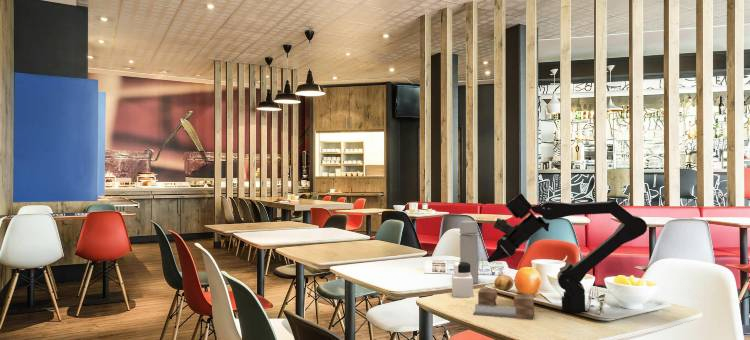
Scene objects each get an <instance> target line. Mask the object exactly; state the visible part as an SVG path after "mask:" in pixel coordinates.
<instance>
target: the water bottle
mask: <svg viewBox="0 0 750 340" xmlns="http://www.w3.org/2000/svg"><path fill="white" fill-rule="evenodd" d="M459 226H460V227H459V234H460V235H459V254H460V255H459V258H460V261H459V262H467V263H469V264H470V272H471V275H472V278H473V285H474V284H478V283H479V271H480V272H483V269H484V265H482V268H481V269H480V268H479V267H480V261H479V249H482V248H481V244H479V241H480V240H481V239H480V237H481V233H478V232H479V231H478V229H479V228H478V222H477V221H476V220H462V221H460V225H459ZM480 254H481V256H483V254H482V252H480ZM481 262H482V264H484V262H483V259H481Z"/></svg>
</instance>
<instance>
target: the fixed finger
mask: <svg viewBox="0 0 750 340" xmlns="http://www.w3.org/2000/svg"><path fill="white" fill-rule="evenodd" d="M534 296H535V295H534V294H525V293H523V294H522V293H516V294H514V298H513V304H514V305H513V307H516V318H515V319H517V318H519V320H530V319H532V320H534V317H533V315H535V308H534V306H535V305H534V304H535V302H534V301H535V300H534ZM532 320H531V321H532Z"/></svg>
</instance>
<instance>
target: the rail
mask: <svg viewBox="0 0 750 340" xmlns="http://www.w3.org/2000/svg"><path fill="white" fill-rule="evenodd" d="M534 315H535V314H534ZM534 315H533V318H534ZM472 316H477V317H478V316H480V317H491V318H492V317H494V318H504V319H505V318H506V319H507V318H508V319H519V318H516V307H514V306H509V305H508V306H507V305H505V306H504V305H497V304H496V305H481V304H478V303H476V304H475V306H474V312H473V313H472ZM519 320H520V319H519ZM529 320H531V321H532V319H529Z"/></svg>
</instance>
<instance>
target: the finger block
mask: <svg viewBox="0 0 750 340" xmlns="http://www.w3.org/2000/svg"><path fill="white" fill-rule="evenodd" d="M477 292H478V293H477V297H478V298H477V302H478V303H477V304H481V305H496V306H497V298H498V290H497V289H496V288H488V287H480V289H479V290H478V291H477Z"/></svg>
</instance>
